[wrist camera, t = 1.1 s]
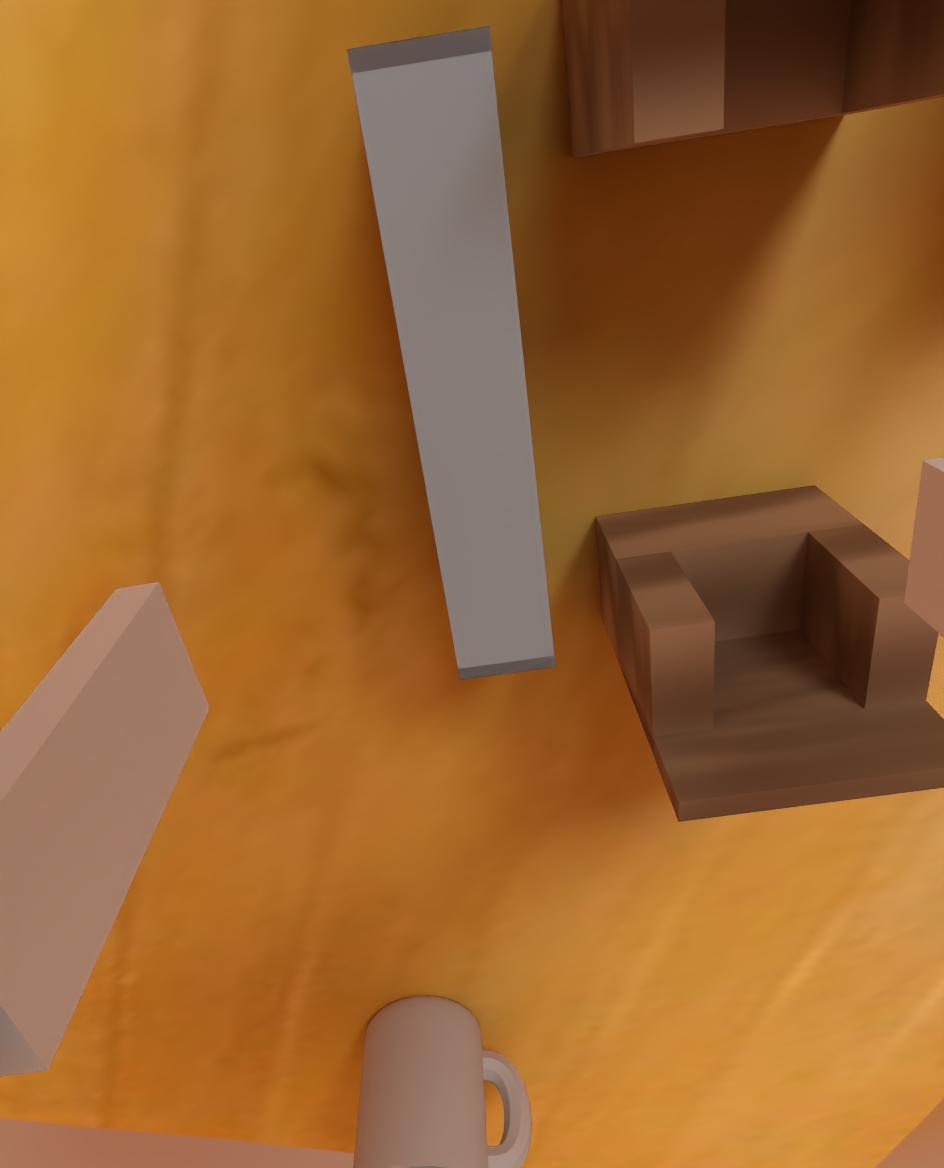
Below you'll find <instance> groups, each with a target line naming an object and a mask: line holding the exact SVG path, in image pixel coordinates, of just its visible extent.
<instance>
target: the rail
mask: <svg viewBox="0 0 944 1168" xmlns="http://www.w3.org/2000/svg"><path fill="white" fill-rule="evenodd" d="M347 52H348V58H349V63H350V69H351V74H352V78H353V83H354V89H355V94H356V100H357V106H358V111H359V117H360V122H361V128H362V134H363V139H364V145H365V150H366V156H367V162H368V167H369V173H370V178H371V184H372V190H373V195H374V201H375V206H376V212H377V218H378V223H379V229H380V234H381V240H382V246H383V251H384V257H385V263H386V268H387V274H388V279H389V285H390V291H391V296H392V302H393V307H394V313H395V319H396V324H397V330H398V335H399V341H400V347H401V352H402V358H403V363H404V369H405V375H406V380H407V386H408V391H409V397H410V403H411V408H412V414H413V419H414V425H415V431H416V436H417V442H418V447H419V453H420V459H421V464H422V470H423V475H424V481H425V487H426V492H427V498H428V503H429V509H430V515H431V520H432V526H433V531H434V537H435V543H436V548H437V554H438V559H439V565H440V571H441V576H442V582H443V587H444V593H445V599H446V604H447V610H448V615H449V621H450V627H451V632H452V638H453V643H454V649H455V655H456V660H457V666H458V673H459V679H460V680H464V679H471V678H479V677H486V676H493V675H501V674H508V673H515V672H523V671H530V670H537V669H545V668H552V667H556V664H555V655H554V647H553V638H552V628H551V618H550V609H549V599H548V589H547V580H546V570H545V561H544V551H543V541H542V532H541V522H540V512H539V503H538V493H537V483H536V474H535V464H534V455H533V445H532V435H531V426H530V416H529V406H528V397H527V387H526V378H525V368H524V358H523V349H522V339H521V329H520V320H519V310H518V301H517V291H516V281H515V272H514V262H513V252H512V243H511V233H510V224H509V214H508V204H507V195H506V185H505V175H504V166H503V156H502V146H501V137H500V127H499V118H498V108H497V98H496V89H495V79H494V69H493V60H492V46H491V37H490V27H489V26H486V27H480V28H474V29H468V30H462V31H456V32H450V33H443V34H437V35H431V36H425V37H419V38H413V39H407V40H401V41H395V42H389V43H383V44H377V45H370V46H364V47H358V48H352V49H347Z"/></svg>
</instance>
